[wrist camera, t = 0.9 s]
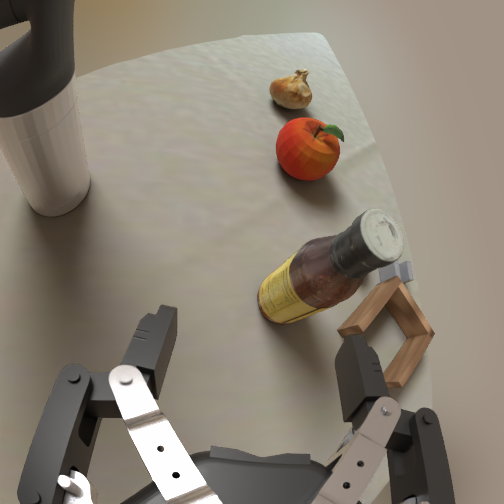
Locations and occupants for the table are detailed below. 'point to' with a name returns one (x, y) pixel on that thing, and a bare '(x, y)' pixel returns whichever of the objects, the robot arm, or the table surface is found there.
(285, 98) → the onion
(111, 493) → the table surface
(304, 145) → the fruit
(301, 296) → the sauce bottle
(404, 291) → the frame
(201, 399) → the table surface
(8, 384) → the table surface
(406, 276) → the clip
